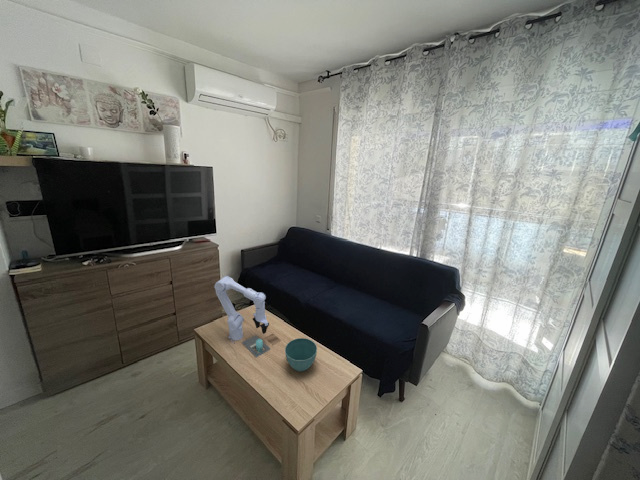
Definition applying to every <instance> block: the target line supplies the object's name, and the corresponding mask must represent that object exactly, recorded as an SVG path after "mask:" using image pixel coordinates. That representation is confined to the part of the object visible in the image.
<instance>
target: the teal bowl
mask: <svg viewBox="0 0 640 480" xmlns="http://www.w3.org/2000/svg"><path fill="white" fill-rule="evenodd" d="M317 352H318V346H317V344H316V343H315V342H314V341H313V340H312V339H309V338H304V337H300V338H294V339H292V340H290V341H289V342H288V343H287V344H286V345H285V349H284V353H285V358H286V360H287V362H288V364H289V366H290V367H291V368H292V369H293V370H295V371H296V372H305V371H306V370H308V369H309V368H310V367H312V365H313V364H314V362H315V359H316V357H317Z"/></svg>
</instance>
